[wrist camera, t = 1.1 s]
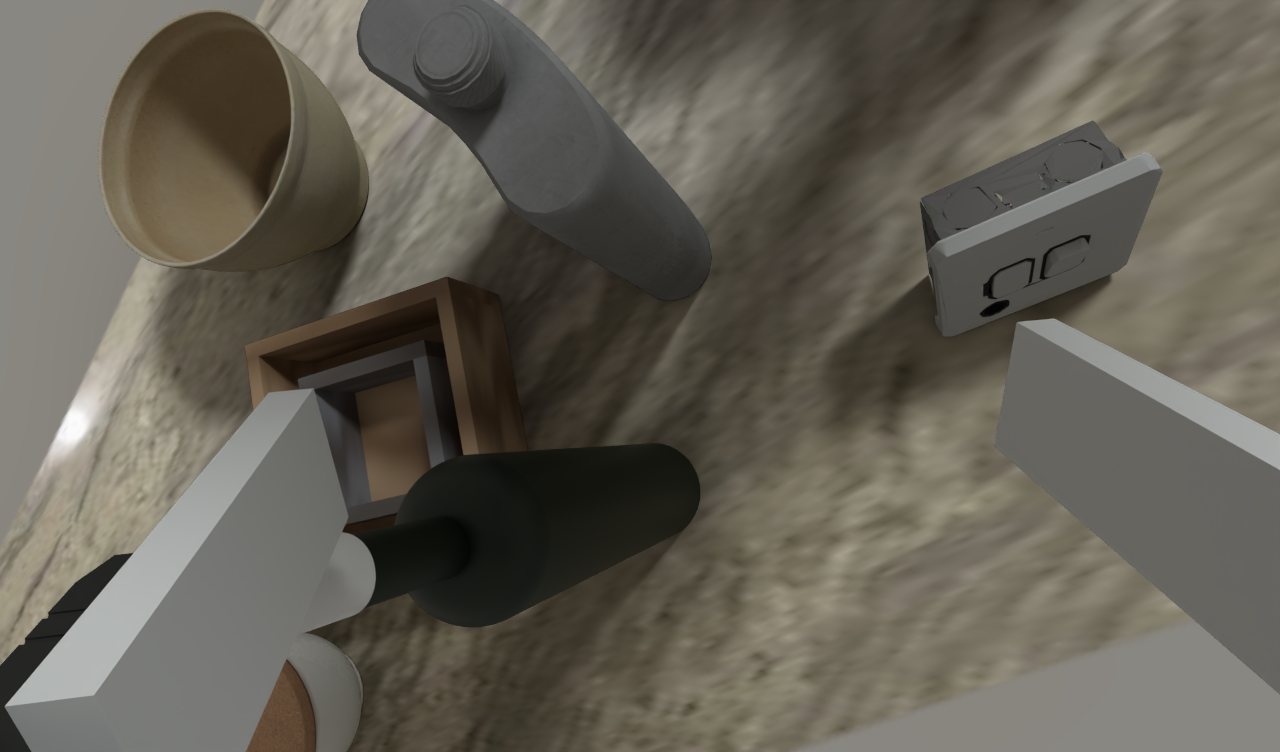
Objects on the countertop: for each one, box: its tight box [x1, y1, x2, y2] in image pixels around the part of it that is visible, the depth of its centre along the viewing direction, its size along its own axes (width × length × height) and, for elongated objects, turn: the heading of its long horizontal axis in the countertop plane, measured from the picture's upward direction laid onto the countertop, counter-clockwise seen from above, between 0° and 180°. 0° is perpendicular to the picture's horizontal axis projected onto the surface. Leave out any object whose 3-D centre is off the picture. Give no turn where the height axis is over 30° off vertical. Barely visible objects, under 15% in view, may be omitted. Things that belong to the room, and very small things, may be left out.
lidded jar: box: [246, 633, 363, 752], centre depth 46 cm, size 11×11×9 cm
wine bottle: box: [297, 444, 700, 635], centre depth 29 cm, size 6×6×30 cm
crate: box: [245, 277, 528, 534], centre depth 46 cm, size 16×16×6 cm
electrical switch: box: [920, 121, 1162, 336], centre depth 34 cm, size 9×5×9 cm, turn 111°
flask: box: [357, 0, 712, 301], centre depth 36 cm, size 15×6×20 cm, turn 45°
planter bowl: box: [98, 9, 369, 272], centre depth 48 cm, size 16×16×11 cm
